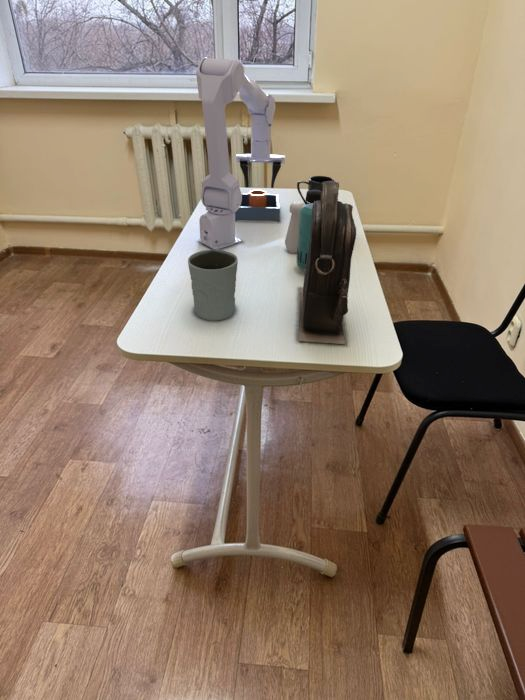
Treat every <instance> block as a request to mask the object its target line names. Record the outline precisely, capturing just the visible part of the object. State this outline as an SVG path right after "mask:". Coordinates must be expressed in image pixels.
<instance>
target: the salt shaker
mask: <svg viewBox="0 0 525 700" xmlns="http://www.w3.org/2000/svg"><path fill="white" fill-rule="evenodd" d="M304 205H305V203H304V202H300V201H293V202H291V203H290V205H289V213H290V219H289V223H288V228H287V232H286V235H285V238H284V245H285V248H286V251H287V252H289V253H291V254H297V252H298V249H297V246H298V244H297V243H298V238H299V231H298V230H299V223H300V210H301V208H302V207H303V206H304Z"/></svg>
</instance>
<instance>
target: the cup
mask: <svg viewBox="0 0 525 700" xmlns="http://www.w3.org/2000/svg"><path fill="white" fill-rule="evenodd" d="M248 194H249V207H266V203H267V194H268V193H267V191H265V190H262V189H253V190H250V191H248Z"/></svg>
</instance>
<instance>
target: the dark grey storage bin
mask: <svg viewBox="0 0 525 700" xmlns="http://www.w3.org/2000/svg"><path fill="white" fill-rule="evenodd" d="M241 193H242V192H241ZM280 210H281V208H280V196H279V194H278V193H277V194H275V193H267V203H266V207H249V193H244V192H243V193H242V202H241V205H240V207H239V209H238V210H237V211H236V212H235V221H250V222H253V221H254V222H280V215H281V214H280V212H281V211H280Z"/></svg>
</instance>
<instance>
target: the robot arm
mask: <svg viewBox="0 0 525 700" xmlns="http://www.w3.org/2000/svg"><path fill="white" fill-rule="evenodd" d="M195 75H196V82H197V91H198V98H199V100H201V106H202V115H203V116H202V117H203V125H204V133H205V143H206V151H207V153H206V154H207V160H208V169H209V170H208V171H209V174H207V175H206V176H205V177H204V178H203V180H202V181H201V183H200V184H201V192H200V201H201V203H202V205H203V206H204V207H205V210H206V212H205V213H204V214H201V216H200V218H199V239H198V241H199V243H201V244H203V245H205V246H207V247H208V248H210V249H211V250H222V249H224V248H227V247H230V246H233V245H236V244H238V243H240V242H242V240H243V239H240V238H238V237H236V220H235V212H236V211H237V210H238V209H239V207H240V205H241V202H242V191H241V188H240V181H239V180H238V179H237V177H235V176H234V175H233V174H232V173H231V169H230V157H229V145H228V143H229V142H228V133H227V132H228V131H227V120H226V119H227V118H226V107H227V105H228V104H230V103H233V102H234V100H235V98H236V96H237V95H238V94H239V99H240V100H241V101H242V103H243V104H244V105H245V106H246V108H247V112H248V115H249V116H251V124H250V125H251V127H250V128H251V129H250V130H251V132H250V133H251V134H250V135H251V136H250V137H251V138H250V139H251V140H250V153H236V155H235V163H239V167H240V170H241V172H242V174H243V177H244V182H245V187H246V188H249V185H250V179H249V163H267V164H271V165H272V169H271V170H272V171H271V181H270V188H271V189H274V188H275V187H274V186H275V181H276V178H277V176H278V173H279V171H280V170H281V167H282V165H285V163H286V162H285V161H286V155H282V154H281V155H280V154H273V153H271V145H272V144H271V142H272V141H271V139H272V124H273V123H274V115H275V112H276V99H275V97H274V96H273V95H271V94H268V93H266V92H265V91H264V89H263V88H261V86H260V85H259V84H258V80H257V79H250V80H249V78H248V77H247V76H246V73H245V65H244V64H243V62H242V61H241V60H240V59H237V58H236V59H235V58H234V59H228V58H227V59H226V58H212V57H207V56H204V57H202V58H201V59H200V61H199V63H198V66H197V68H196V71H195Z"/></svg>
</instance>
